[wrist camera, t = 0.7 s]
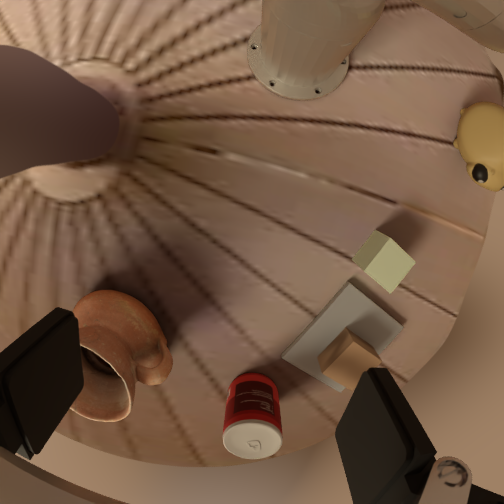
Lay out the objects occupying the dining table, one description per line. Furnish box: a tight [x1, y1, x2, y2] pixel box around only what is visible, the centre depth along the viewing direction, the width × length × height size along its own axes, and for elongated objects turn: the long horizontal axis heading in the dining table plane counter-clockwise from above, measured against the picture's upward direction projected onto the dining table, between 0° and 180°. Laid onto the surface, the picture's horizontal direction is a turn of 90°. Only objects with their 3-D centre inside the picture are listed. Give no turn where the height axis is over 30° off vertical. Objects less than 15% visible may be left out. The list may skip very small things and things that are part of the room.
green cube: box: [352, 230, 416, 294], centre depth 37 cm, size 5×5×5 cm
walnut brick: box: [317, 327, 382, 391], centre depth 40 cm, size 6×6×4 cm
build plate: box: [281, 281, 404, 393], centre depth 42 cm, size 14×12×1 cm
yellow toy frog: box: [453, 102, 504, 192], centre depth 30 cm, size 10×12×11 cm
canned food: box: [223, 373, 282, 459], centre depth 39 cm, size 8×8×11 cm
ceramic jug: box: [70, 290, 173, 422], centre depth 35 cm, size 18×14×14 cm
